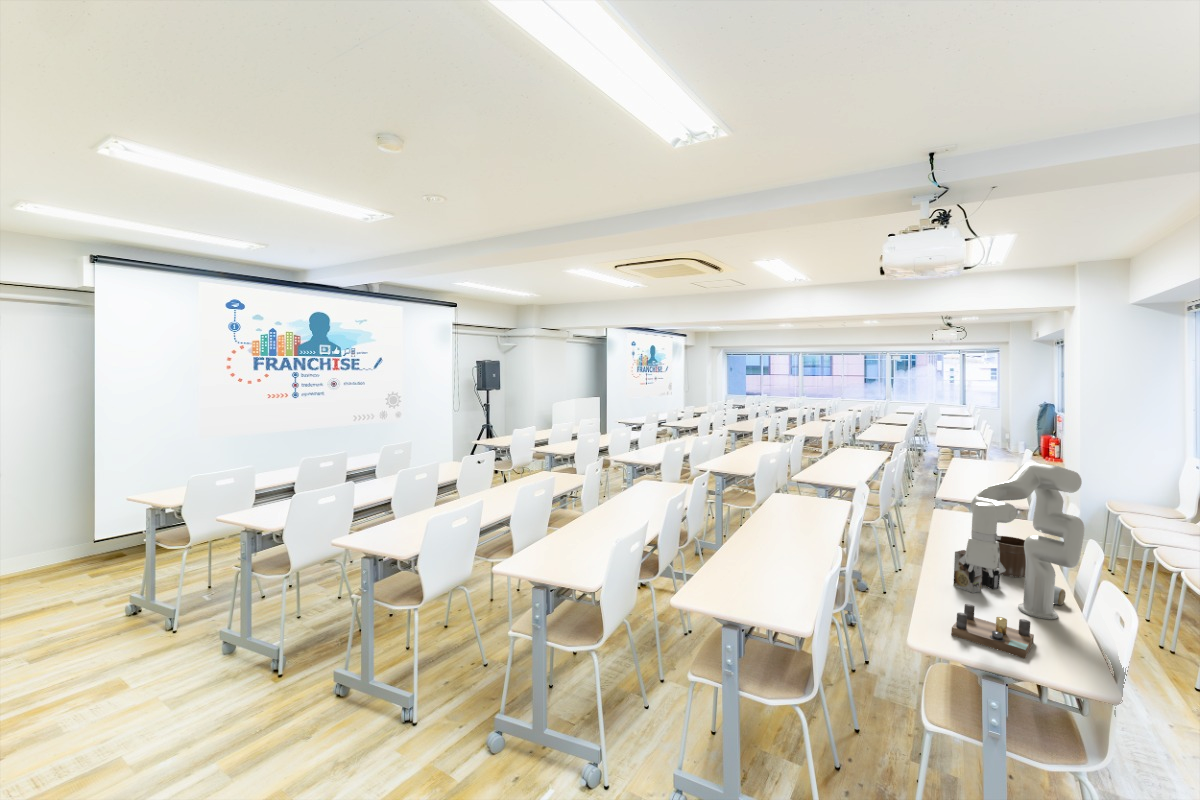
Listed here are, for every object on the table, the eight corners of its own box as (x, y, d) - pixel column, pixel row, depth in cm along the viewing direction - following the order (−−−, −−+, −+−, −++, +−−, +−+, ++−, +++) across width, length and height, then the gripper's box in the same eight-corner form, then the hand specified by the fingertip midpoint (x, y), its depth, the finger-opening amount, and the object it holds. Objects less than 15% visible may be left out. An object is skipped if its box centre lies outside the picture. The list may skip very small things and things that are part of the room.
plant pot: (981, 569, 268) (983, 537, 267) (1000, 564, 275) (1002, 533, 274) (1017, 581, 253) (1020, 548, 252) (1037, 576, 260) (1039, 543, 259)
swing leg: (1001, 640, 192) (1002, 627, 191) (990, 637, 194) (991, 624, 194) (1007, 632, 198) (1008, 619, 198) (996, 629, 200) (997, 615, 200)
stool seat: (962, 621, 213) (963, 601, 213) (1033, 642, 197) (1034, 621, 197) (951, 635, 202) (952, 614, 202) (1025, 658, 186) (1026, 636, 186)
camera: (1008, 589, 244) (1008, 567, 244) (987, 589, 244) (987, 568, 244) (986, 577, 258) (986, 557, 257) (967, 578, 258) (967, 557, 258)
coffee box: (982, 591, 242) (984, 556, 241) (972, 593, 240) (974, 557, 239) (962, 583, 251) (963, 549, 250) (952, 585, 248) (954, 551, 247)
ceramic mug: (1060, 607, 226) (1061, 589, 226) (1035, 600, 233) (1037, 583, 232) (1068, 602, 232) (1069, 584, 232) (1044, 595, 239) (1045, 578, 239)
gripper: (1013, 539, 197) (1010, 588, 199) (959, 529, 210) (956, 574, 211) (1009, 544, 192) (1006, 594, 193) (954, 533, 204) (951, 580, 206)
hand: (980, 583), depth 202 cm, fingers open, 4 cm apart
